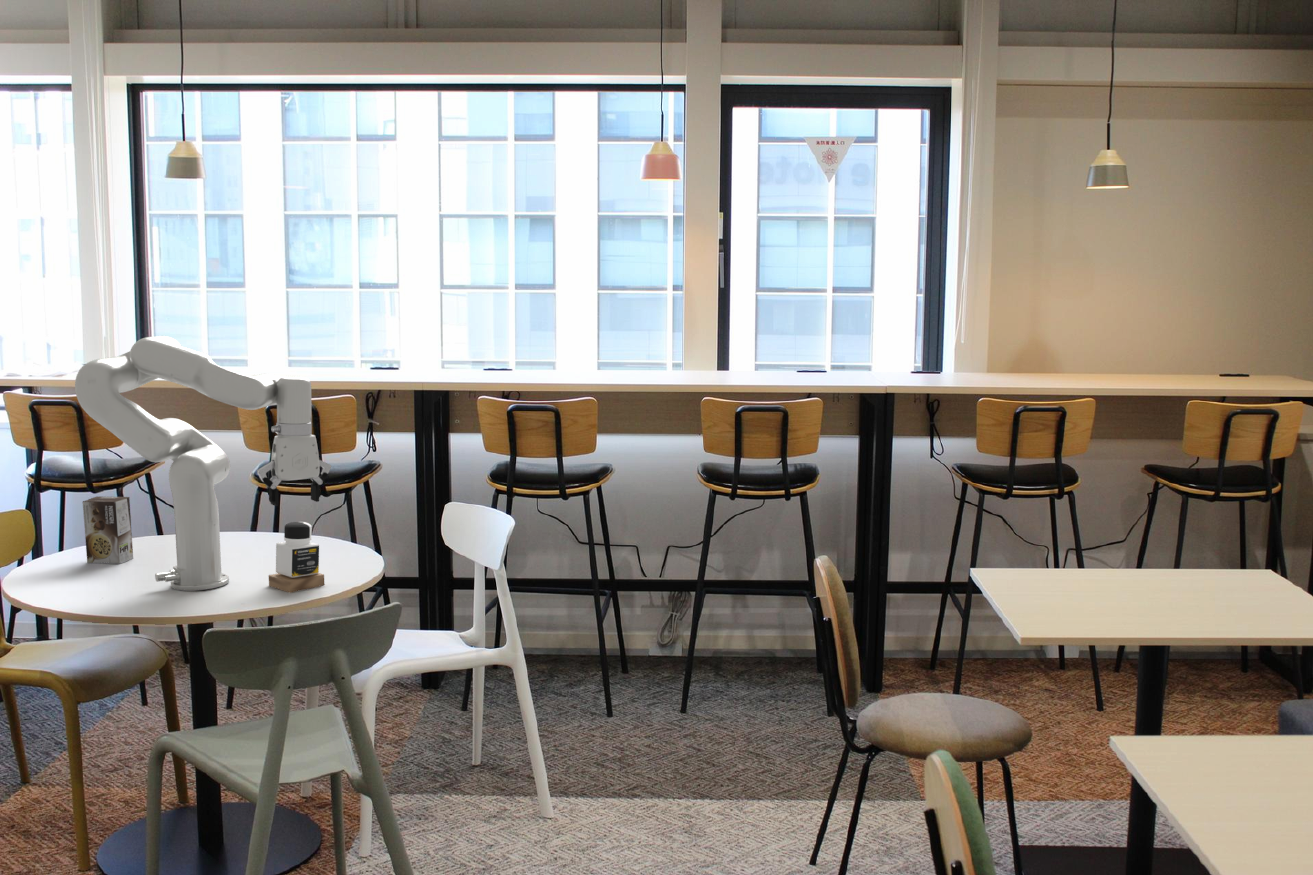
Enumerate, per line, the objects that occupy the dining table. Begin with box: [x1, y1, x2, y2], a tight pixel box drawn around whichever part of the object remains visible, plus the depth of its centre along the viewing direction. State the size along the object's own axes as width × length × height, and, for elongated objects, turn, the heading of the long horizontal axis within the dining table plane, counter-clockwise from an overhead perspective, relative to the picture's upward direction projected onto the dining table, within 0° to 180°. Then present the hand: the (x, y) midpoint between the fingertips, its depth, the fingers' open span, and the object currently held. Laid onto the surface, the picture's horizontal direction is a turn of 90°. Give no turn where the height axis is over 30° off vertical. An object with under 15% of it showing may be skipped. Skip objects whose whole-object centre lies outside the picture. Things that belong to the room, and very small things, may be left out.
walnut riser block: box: [268, 572, 325, 594], centre depth 253 cm, size 9×9×3 cm
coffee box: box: [82, 496, 134, 565], centre depth 274 cm, size 9×6×16 cm
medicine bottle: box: [275, 521, 320, 578], centre depth 253 cm, size 7×7×12 cm
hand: (295, 502), depth 251 cm, fingers open, 9 cm apart
